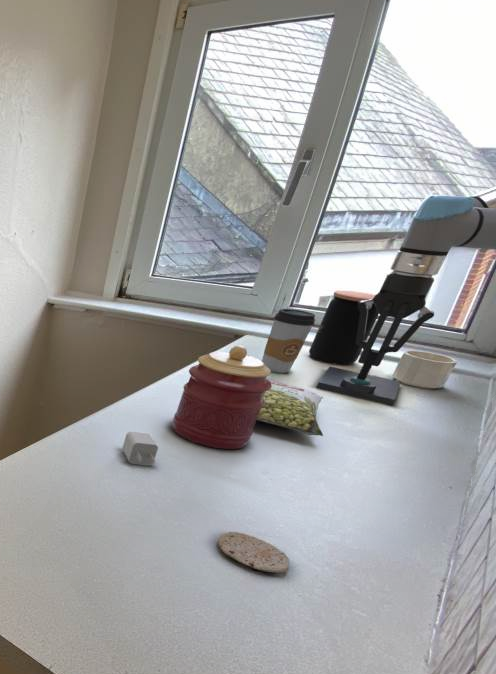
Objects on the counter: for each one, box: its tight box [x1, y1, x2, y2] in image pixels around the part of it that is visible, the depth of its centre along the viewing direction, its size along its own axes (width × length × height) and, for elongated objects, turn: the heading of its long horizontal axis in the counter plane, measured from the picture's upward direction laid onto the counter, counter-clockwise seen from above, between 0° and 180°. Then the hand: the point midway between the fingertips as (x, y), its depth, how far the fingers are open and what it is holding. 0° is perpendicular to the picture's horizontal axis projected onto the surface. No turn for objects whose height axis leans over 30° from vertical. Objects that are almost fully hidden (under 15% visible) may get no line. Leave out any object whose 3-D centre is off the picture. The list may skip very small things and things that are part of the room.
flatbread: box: [217, 531, 290, 574], centre depth 71 cm, size 8×8×1 cm
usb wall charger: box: [121, 431, 159, 466], centre depth 93 cm, size 4×7×4 cm, turn 170°
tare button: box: [351, 376, 370, 385], centre depth 127 cm, size 3×3×2 cm
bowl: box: [391, 349, 458, 390], centre depth 136 cm, size 10×10×7 cm
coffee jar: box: [308, 290, 380, 366], centre depth 149 cm, size 11×11×18 cm
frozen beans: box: [257, 380, 324, 437], centre depth 115 cm, size 21×6×25 cm
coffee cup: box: [261, 308, 316, 374], centre depth 140 cm, size 8×8×15 cm
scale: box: [316, 366, 401, 406], centre depth 132 cm, size 14×19×3 cm
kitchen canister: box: [172, 345, 272, 450], centre depth 101 cm, size 13×13×18 cm
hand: (361, 377), depth 127 cm, fingers closed
